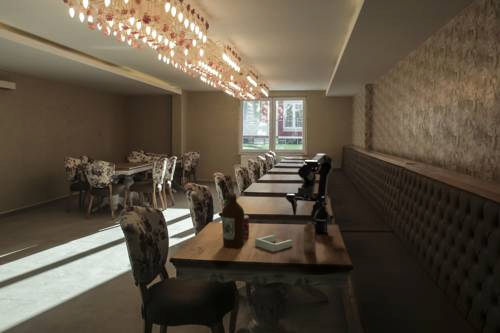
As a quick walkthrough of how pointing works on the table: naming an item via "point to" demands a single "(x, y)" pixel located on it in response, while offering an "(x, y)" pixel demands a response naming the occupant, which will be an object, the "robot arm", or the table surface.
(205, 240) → the table surface
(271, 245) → the pale green u-shaped block
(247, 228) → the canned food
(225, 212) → the olive oil
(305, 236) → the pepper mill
